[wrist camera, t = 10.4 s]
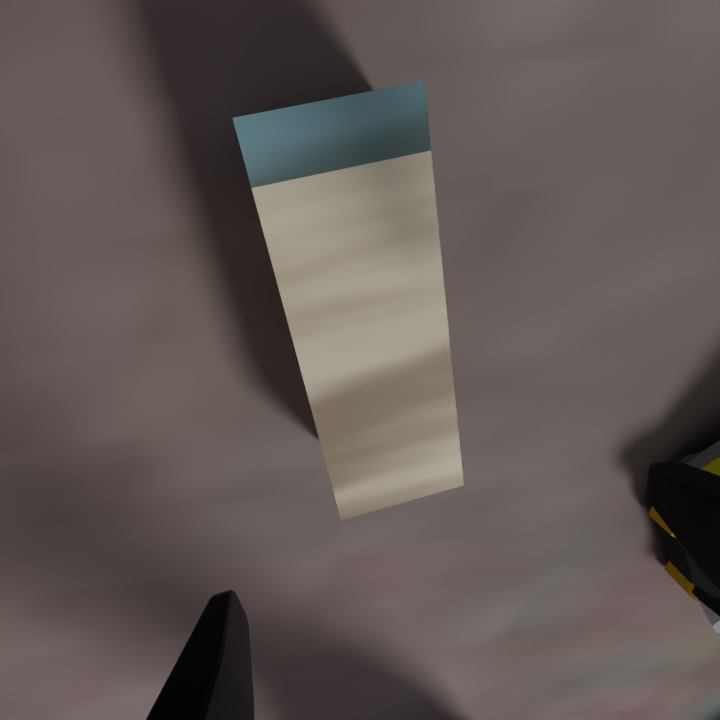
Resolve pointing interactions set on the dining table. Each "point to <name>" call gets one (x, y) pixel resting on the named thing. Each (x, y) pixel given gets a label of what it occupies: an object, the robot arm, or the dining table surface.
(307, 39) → the dining table surface
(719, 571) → the robot arm
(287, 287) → the birch block
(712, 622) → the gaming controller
